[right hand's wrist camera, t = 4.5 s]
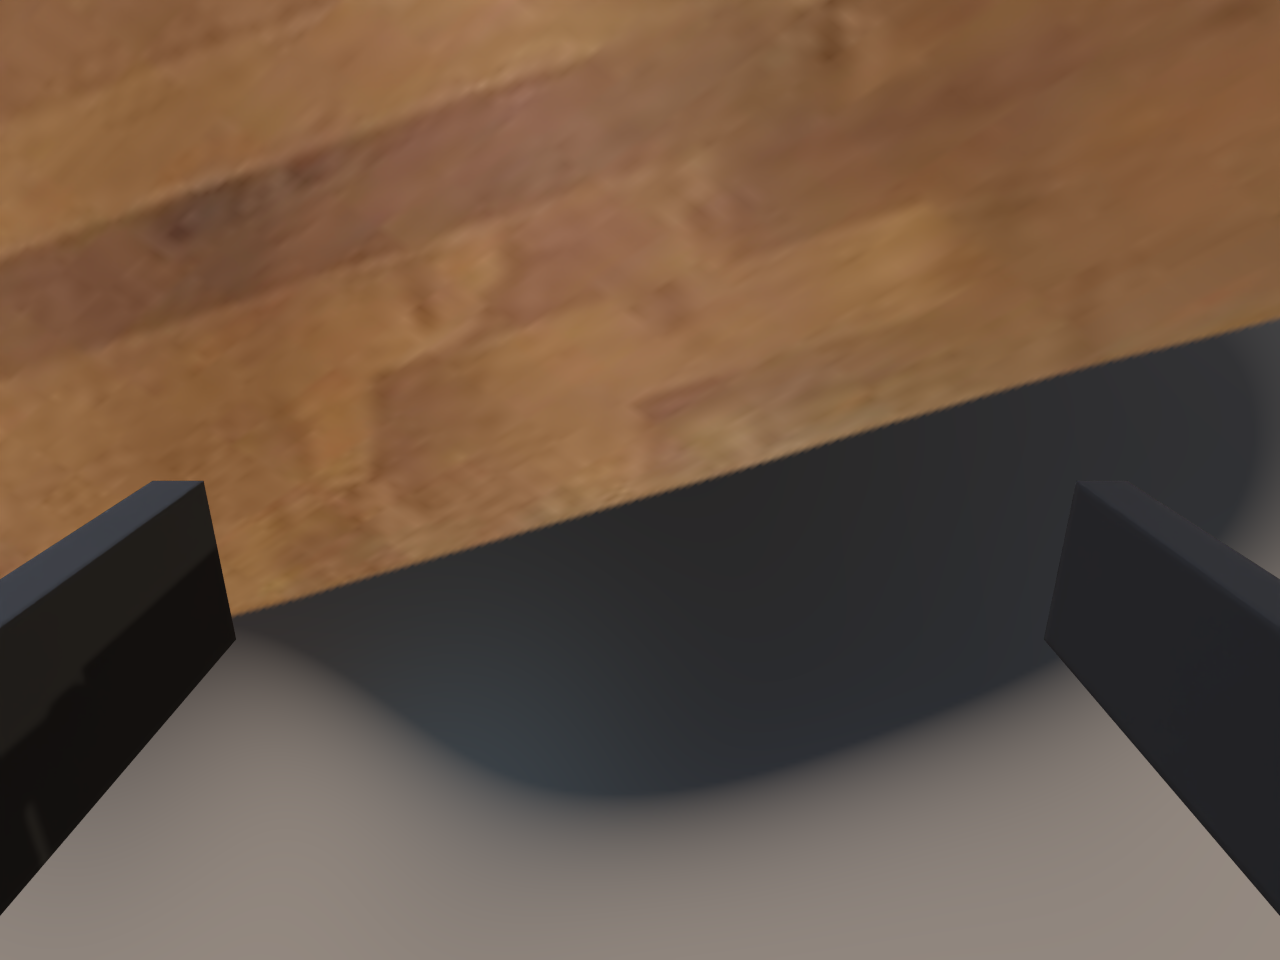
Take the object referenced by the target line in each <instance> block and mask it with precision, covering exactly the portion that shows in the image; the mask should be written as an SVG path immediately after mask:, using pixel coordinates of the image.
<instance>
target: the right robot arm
mask: <svg viewBox="0 0 1280 960" xmlns="http://www.w3.org/2000/svg"><path fill="white" fill-rule="evenodd" d="M235 640H236V637H235V632H234V627H233V623H232V617H231V613H230V608H229V603H228V598H227V593H226V588H225V583H224V578H223V574H222V569H221V564H220V559H219V554H218V549H217V544H216V539H215V535H214V530H213V525H212V520H211V515H210V510H209V505H208V500H207V495H206V491H205V486H204V481H152V482H150V483H149V484H147V485H146V486H144V487H142V488H141V489H139V490H138V491H136V492H135V493H133V494H132V495H130V496H128V497H127V498H125V499H124V500H122V501H121V502H119V503H118V504H116V505H115V506H113V507H111V508H110V509H108V510H107V511H105V512H104V513H102V514H101V515H99V516H98V517H96V518H94V519H93V520H91V521H90V522H88V523H87V524H85V525H84V526H82V527H81V528H79V529H77V530H76V531H74V532H73V533H71V534H70V535H68V536H67V537H65V538H64V539H62V540H60V541H59V542H57V543H56V544H54V545H53V546H51V547H50V548H48V549H46V550H45V551H43V552H42V553H40V554H39V555H37V556H36V557H34V558H33V559H31V560H29V561H28V562H26V563H25V564H23V565H22V566H20V567H19V568H17V569H16V570H14V571H12V572H11V573H9V574H8V575H6V576H5V577H3V578H2V579H0V915H1V914H2V913H3V912H4V911H5V909H6V908H7V907H8V906H9V905H10V903H11V902H12V901H13V900H14V899H15V898H16V897H17V895H18V894H19V893H20V892H21V891H22V889H23V888H24V887H25V886H26V885H27V884H28V882H29V881H30V880H31V879H32V878H33V877H34V875H35V874H36V873H37V872H38V871H39V870H40V868H41V867H42V866H43V865H44V864H45V863H46V861H47V860H48V859H49V858H50V857H51V855H52V854H53V853H54V852H55V851H56V850H57V848H58V847H59V846H60V845H61V844H62V843H63V841H64V840H65V839H66V838H67V837H68V836H69V834H70V833H71V832H72V831H73V830H74V829H75V827H76V826H77V825H78V824H79V823H80V822H81V820H82V819H83V818H84V817H85V816H86V814H87V813H88V812H89V811H90V810H91V808H92V807H93V806H94V805H95V804H96V803H97V802H98V800H99V799H100V798H101V797H102V796H103V795H104V793H105V792H106V791H107V790H108V789H109V787H110V786H111V785H112V784H113V783H114V782H115V781H116V779H117V778H118V777H119V776H120V775H121V773H122V772H123V771H124V770H125V769H126V768H127V766H128V765H129V764H130V763H131V762H132V761H133V759H134V758H135V757H136V756H137V755H138V754H139V752H140V751H141V750H142V749H143V748H144V747H145V745H146V744H147V743H148V742H149V741H150V739H151V738H152V737H153V736H154V735H155V734H156V732H157V731H158V730H159V729H160V728H161V727H162V725H163V724H164V723H165V722H166V721H167V720H168V718H169V717H170V716H171V715H172V714H173V713H174V711H175V710H176V709H177V708H178V707H179V706H180V704H181V703H182V702H183V701H184V700H185V698H186V697H187V696H188V695H189V694H190V693H191V691H192V690H193V689H194V688H195V687H196V686H197V684H198V683H199V682H200V681H201V680H202V679H203V677H204V676H205V675H206V674H207V673H208V672H209V670H210V669H211V668H212V667H213V666H214V664H215V663H216V662H217V661H218V660H219V659H220V657H221V656H222V655H223V654H224V653H225V652H226V650H227V649H228V648H229V647H230V646H231V645H232V643H233V642H234V641H235ZM1044 640H1045V641H1046V642H1047V643H1048V645H1049V646H1050V647H1051V648H1052V649H1053V650H1054V652H1055V653H1056V654H1057V655H1058V656H1059V657H1060V659H1061V660H1062V661H1063V662H1064V663H1065V664H1066V666H1067V667H1068V668H1069V669H1070V670H1071V672H1072V673H1073V674H1074V675H1075V676H1076V677H1077V679H1078V680H1079V681H1080V682H1081V683H1082V684H1083V686H1084V687H1085V688H1086V689H1087V690H1088V691H1089V693H1090V694H1091V695H1092V696H1093V697H1094V698H1095V700H1096V701H1097V702H1098V703H1099V704H1100V706H1101V707H1102V708H1103V709H1104V710H1105V711H1106V713H1107V714H1108V715H1109V716H1110V717H1111V718H1112V720H1113V721H1114V722H1115V723H1116V724H1117V725H1118V727H1119V728H1120V729H1121V730H1122V731H1123V732H1124V734H1125V735H1126V736H1127V737H1128V738H1129V739H1130V741H1131V742H1132V743H1133V744H1134V745H1135V746H1136V748H1137V749H1138V750H1139V751H1140V752H1141V754H1142V755H1143V756H1144V757H1145V758H1146V759H1147V761H1148V762H1149V763H1150V764H1151V765H1152V766H1153V768H1154V769H1155V770H1156V771H1157V772H1158V773H1159V775H1160V776H1161V777H1162V778H1163V779H1164V781H1165V782H1166V783H1167V784H1168V785H1169V786H1170V788H1171V789H1172V790H1173V791H1174V792H1175V793H1176V795H1177V796H1178V797H1179V798H1180V799H1181V800H1182V802H1183V803H1184V804H1185V805H1186V806H1187V807H1188V809H1189V810H1190V811H1191V812H1192V813H1193V814H1194V816H1195V817H1196V818H1197V819H1198V820H1199V821H1200V823H1201V824H1202V825H1203V826H1204V827H1205V829H1206V830H1207V831H1208V832H1209V833H1210V834H1211V836H1212V837H1213V838H1214V839H1215V840H1216V841H1217V843H1218V844H1219V845H1220V846H1221V847H1222V848H1223V850H1224V851H1225V852H1226V853H1227V854H1228V855H1229V857H1230V858H1231V859H1232V860H1233V861H1234V863H1235V864H1236V865H1237V866H1238V867H1239V868H1240V870H1241V871H1242V872H1243V873H1244V874H1245V875H1246V877H1247V878H1248V879H1249V880H1250V881H1251V882H1252V884H1253V885H1254V886H1255V887H1256V888H1257V889H1258V891H1259V892H1260V893H1261V894H1262V895H1263V896H1264V898H1265V899H1266V900H1267V901H1268V902H1269V904H1270V905H1271V906H1272V907H1273V908H1274V909H1275V911H1276V912H1277V913H1278V914H1279V915H1280V579H1278V578H1277V577H1275V576H1274V575H1272V574H1271V573H1269V572H1267V571H1266V570H1264V569H1263V568H1261V567H1260V566H1258V565H1257V564H1255V563H1254V562H1252V561H1251V560H1249V559H1247V558H1246V557H1244V556H1243V555H1241V554H1240V553H1238V552H1237V551H1235V550H1233V549H1232V548H1230V547H1229V546H1227V545H1226V544H1224V543H1223V542H1221V541H1220V540H1218V539H1216V538H1215V537H1213V536H1212V535H1210V534H1209V533H1207V532H1206V531H1204V530H1203V529H1201V528H1199V527H1198V526H1196V525H1195V524H1193V523H1192V522H1190V521H1189V520H1187V519H1186V518H1184V517H1182V516H1181V515H1179V514H1178V513H1176V512H1175V511H1173V510H1172V509H1170V508H1169V507H1167V506H1165V505H1164V504H1162V503H1161V502H1159V501H1158V500H1156V499H1155V498H1153V497H1151V496H1150V495H1148V494H1147V493H1145V492H1144V491H1142V490H1141V489H1139V488H1138V487H1136V486H1134V485H1133V484H1131V483H1130V482H1128V481H1076V486H1075V491H1074V495H1073V500H1072V505H1071V510H1070V515H1069V520H1068V525H1067V530H1066V535H1065V539H1064V544H1063V549H1062V554H1061V559H1060V564H1059V569H1058V574H1057V578H1056V583H1055V588H1054V593H1053V598H1052V603H1051V608H1050V613H1049V618H1048V622H1047V627H1046V632H1045V637H1044Z"/></svg>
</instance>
